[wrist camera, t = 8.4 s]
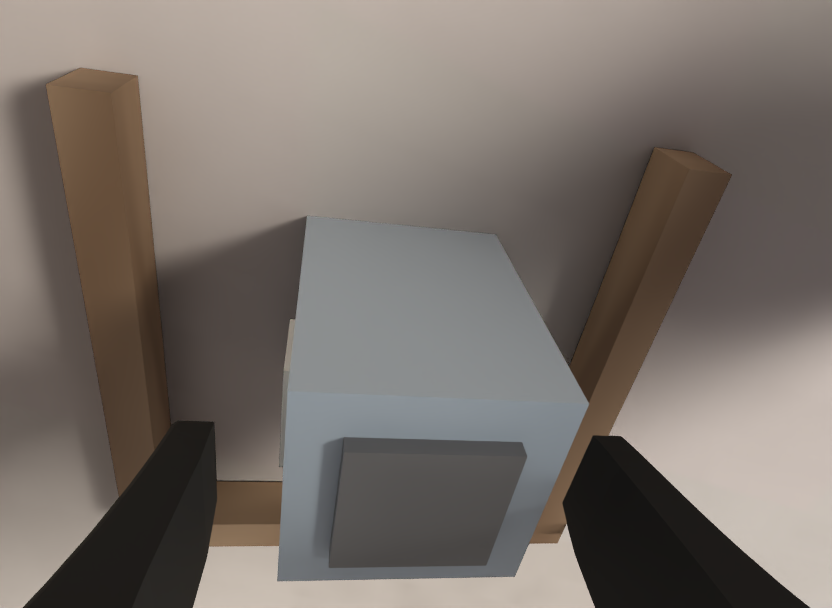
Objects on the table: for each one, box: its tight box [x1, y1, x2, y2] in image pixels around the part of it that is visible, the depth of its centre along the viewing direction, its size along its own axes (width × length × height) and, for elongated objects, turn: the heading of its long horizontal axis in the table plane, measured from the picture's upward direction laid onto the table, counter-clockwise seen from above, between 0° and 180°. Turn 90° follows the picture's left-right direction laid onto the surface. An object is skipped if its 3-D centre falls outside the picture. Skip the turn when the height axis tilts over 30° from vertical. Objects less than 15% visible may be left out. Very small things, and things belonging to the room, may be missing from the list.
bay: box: [46, 68, 732, 546], centre depth 14 cm, size 13×12×2 cm
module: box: [277, 216, 589, 581], centre depth 12 cm, size 5×4×6 cm
